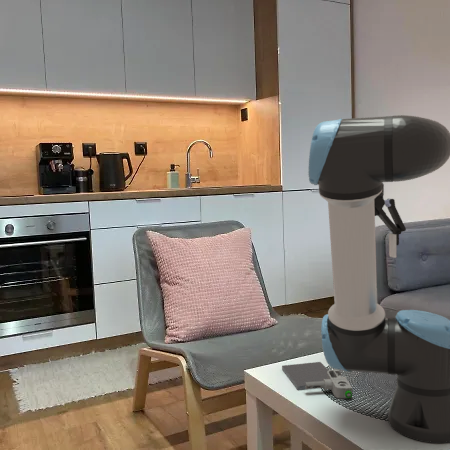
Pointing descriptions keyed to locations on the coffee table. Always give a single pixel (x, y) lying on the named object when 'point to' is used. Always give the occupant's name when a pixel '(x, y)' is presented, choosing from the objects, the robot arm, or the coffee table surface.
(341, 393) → the mechanical component
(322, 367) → the plate
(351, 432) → the coffee table surface
